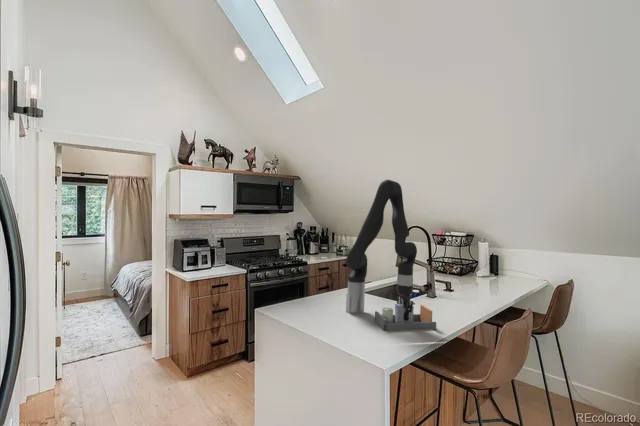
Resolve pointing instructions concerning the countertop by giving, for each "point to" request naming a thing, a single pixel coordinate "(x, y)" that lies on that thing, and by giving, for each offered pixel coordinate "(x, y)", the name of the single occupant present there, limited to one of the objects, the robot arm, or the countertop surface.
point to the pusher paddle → (425, 314)
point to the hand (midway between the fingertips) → (403, 318)
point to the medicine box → (402, 314)
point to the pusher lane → (403, 326)
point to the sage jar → (388, 314)
